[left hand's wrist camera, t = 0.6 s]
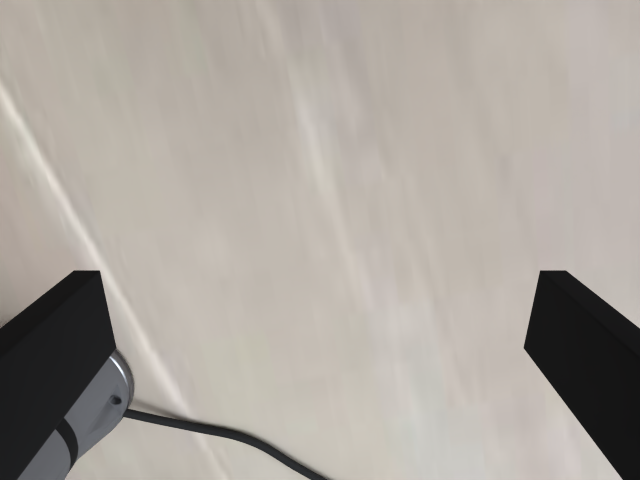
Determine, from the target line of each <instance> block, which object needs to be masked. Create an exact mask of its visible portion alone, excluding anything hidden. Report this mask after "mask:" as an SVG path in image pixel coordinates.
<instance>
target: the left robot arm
mask: <svg viewBox="0 0 640 480" xmlns="http://www.w3.org/2000/svg"><path fill="white" fill-rule="evenodd" d="M115 349H116V344H115V339H114V335H113V330H112V325H111V321H110V316H109V311H108V307H107V302H106V297H105V293H104V288H103V283H102V279H101V274H100V271H73V272H72V273H70V274H69V275H68V276H67V277H65V278H64V279H63V280H61V281H60V282H59V283H58V284H56V285H55V286H54V287H53V288H51V289H50V290H49V291H47V292H46V293H45V294H44V295H42V296H41V297H40V298H39V299H37V300H36V301H35V302H33V303H32V304H31V305H30V306H28V307H27V308H26V309H25V310H23V311H22V312H21V313H19V314H18V315H17V316H16V317H14V318H13V319H12V320H11V321H9V322H8V323H7V324H5V325H4V326H3V327H2V328H0V480H17V479H18V478H19V477H20V475H21V474H22V473H23V471H24V470H25V469H26V467H27V466H28V465H29V463H30V462H31V461H32V459H33V458H34V457H35V455H36V454H37V453H38V451H39V450H40V449H41V447H42V446H43V445H44V443H45V442H46V441H47V439H48V438H49V437H50V435H51V434H52V433H53V431H54V430H55V429H56V427H57V426H58V425H59V423H60V422H61V421H62V419H63V418H64V417H65V415H66V414H67V413H68V412H69V410H70V409H71V408H72V406H73V405H74V404H75V402H76V401H77V400H78V398H79V397H80V396H81V394H82V393H83V392H84V390H85V389H86V388H87V386H88V385H89V384H90V382H91V381H92V380H93V378H94V377H95V376H96V374H97V373H98V372H99V370H100V369H101V368H102V366H103V365H104V364H105V362H106V361H107V360H108V358H109V357H110V356H111V354H112V353H113V352H114V350H115ZM524 349H525V350H526V352H527V353H528V354H529V356H530V357H531V358H532V360H533V361H534V362H535V364H536V365H537V366H538V368H539V369H540V370H541V372H542V373H543V374H544V376H545V377H546V378H547V380H548V381H549V382H550V384H551V385H552V386H553V388H554V389H555V390H556V392H557V393H558V394H559V396H560V397H561V398H562V400H563V401H564V402H565V404H566V405H567V406H568V408H569V409H570V410H571V412H572V413H573V414H574V416H575V417H576V418H577V419H578V421H579V422H580V423H581V425H582V426H583V427H584V429H585V430H586V431H587V433H588V434H589V435H590V437H591V438H592V439H593V441H594V442H595V443H596V445H597V446H598V447H599V449H600V450H601V451H602V453H603V454H604V455H605V457H606V458H607V459H608V461H609V462H610V463H611V465H612V466H613V467H614V469H615V470H616V471H617V473H618V474H619V475H620V477H621V478H622V479H623V480H640V328H638V327H637V326H636V325H635V324H633V323H632V322H631V321H629V320H628V319H627V318H626V317H624V316H623V315H622V314H621V313H619V312H618V311H617V310H615V309H614V308H613V307H612V306H610V305H609V304H608V303H607V302H605V301H604V300H603V299H601V298H600V297H599V296H598V295H596V294H595V293H594V292H593V291H591V290H590V289H589V288H587V287H586V286H585V285H584V284H582V283H581V282H580V281H579V280H577V279H576V278H575V277H573V276H572V275H571V274H570V273H568V272H567V271H540V274H539V279H538V283H537V288H536V293H535V297H534V302H533V307H532V311H531V316H530V321H529V325H528V330H527V335H526V339H525V344H524Z"/></svg>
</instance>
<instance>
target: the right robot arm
mask: <svg viewBox="0 0 640 480" xmlns="http://www.w3.org/2000/svg"><path fill="white" fill-rule="evenodd" d="M133 394H134V383H133V378H132V374H131V371H130V369H129V367H128V365H127V363H126V362H125V360H124V359H123V357H122V356H121V355H120V354H119V352H118V351H117V350H116V349H115V350H114V352H113V353H112V354H111V356H110V357H109V358H108V360H107V361H106V362H105V364H104V365H103V366H102V368H101V369H100V370H99V372H98V373H97V374H96V376H95V377H94V378H93V380H92V381H91V382H90V384H89V385H88V386H87V388H86V389H85V390H84V392H83V393H82V394H81V396H80V397H79V398H78V400H77V401H76V402H75V404H74V405H73V406H72V408H71V409H70V410H69V412H68V413H67V414H66V415H65V417H64V418H63V419H62V421H61V422H60V423H59V425H58V426H57V427H56V429H55V430H54V431H53V433H52V434H51V435H50V437H49V438H48V439H47V441H46V442H45V443H44V445H43V446H42V447H41V449H40V450H39V451H38V453H37V454H36V455H35V457H34V458H33V459H32V461H31V462H30V463H29V465H28V466H27V467H26V469H25V470H24V471H23V473H22V474H21V475H20V477H19V478H18V479H17V480H64V479H65V478H66V476H67V474H68V473H69V471H70V470H71V468H72V467H73V465H74V463H75V462H76V461H77V460H78V459H79V458H80V457H81V456H82V455H83V454H85V453H86V452H87V451H88V450H89V449H91V448H92V447H93V446H94V445H95V444H96V443H98V442H99V441H100V440H101V439H102V438H104V437H105V436H106V435H107V434H108V433H109V432H111V431H112V430H113V429H114V428H115V427H116V425H117V424H118V423H119V422H120V421H121V420H122V418H123V417H127V418H131V419H136V420H140V421H145V422H150V423H154V424H159V425H164V426H169V427H174V428H179V429H184V430H189V431H194V432H198V433H204V434H209V435H215V436H220V437H225V438H229V439H233V440H237V441H240V442H243V443H246V444H249V445H251V446H254V447H256V448H258V449H260V450H262V451H264V452H266V453H267V454H269V455H271V456H272V457H274V458H276V459H277V460H279V461H280V462H282V463H283V464H285V465H286V466H288V467H290V468H291V469H293V470H295V471H296V472H298V473H300V474H302V475H304V476H305V477H307V478H309V479H311V480H327V479H325V478H323V477H321V476H320V475H318V474H316V473H314V472H312V471H311V470H309V469H307V468H305V467H304V466H302V465H300V464H298V463H297V462H295V461H293V460H292V459H290V458H288V457H287V456H285V455H284V454H282V453H281V452H279V451H278V450H276V449H275V448H273V447H271V446H270V445H268V444H266V443H264V442H262V441H260V440H258V439H256V438H253V437H251V436H248V435H245V434H242V433H239V432H235V431H231V430H227V429H222V428H217V427H211V426H206V425H201V424H196V423H191V422H187V421H182V420H177V419H172V418H167V417H162V416H158V415H153V414H149V413H144V412H140V411H136V410H131V409H128V408H129V406H130V404H131V402H132V399H133Z"/></svg>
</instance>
